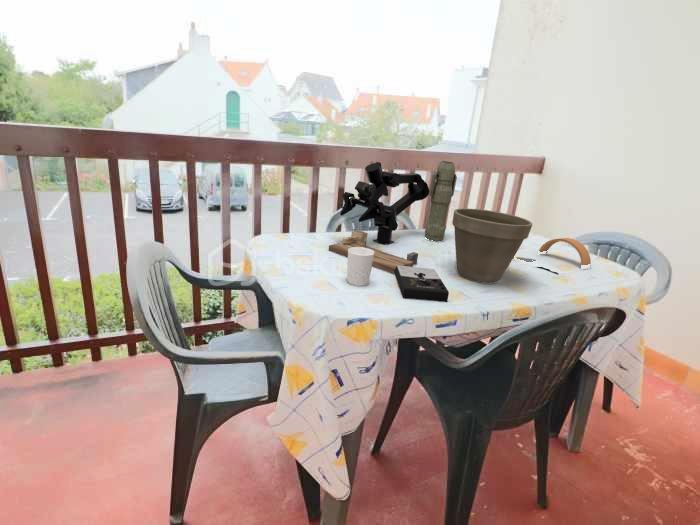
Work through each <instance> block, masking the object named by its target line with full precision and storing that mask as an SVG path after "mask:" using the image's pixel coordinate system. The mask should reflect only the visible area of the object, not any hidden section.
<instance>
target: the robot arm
mask: <svg viewBox="0 0 700 525" xmlns="http://www.w3.org/2000/svg"><path fill="white" fill-rule="evenodd" d="M364 169H365V173H366V176H367V179H368V182H364V181H360V180H358V182H357V184H356V185H355V186H354V190H356V191H357V197H358V198H357V197H356V196H355V194H354V193H352V192H347V191H345V192H344V193H343V194H342V195H341V196H342V199H343V206H342V208H341V211H340V213H339V214H340V216H345V215H346V214H349V212H351V211H352V210H354V208H355V207H357V206H360V207H361V208H365V209H366V210H365V212H364V213H362V215H361V216H360V217H359V218H358V222H359V223H361V222H365V221H368V220H373V222H374V224H373V225H374V227H376V228H377V234H376V238H375V239H376V240H375V239H374V240H375V241H374V242H376V241H378V242H377V243H379V242H380V243H379V244H382V243H383V244H384V245H388V244H389V245H390V244H393V243H395V241H394V240H392V237H393V236H392V235H393V231H394V232H395V231H397V229H398V226H399V224H398V222H397V216H399V215H400V214H401V213H402V212H404V211H405V210H406V209H407V208H409V207H410V206H411V205H412V204H414V203H415V202H417V201H422V200H424V199H427V197H428V196H430V187H429V186H428V183H427V182H426V181H425V180H424V179H423V178H422V175H421V174H419V173H416V172H415V173H414V172H409V173H397V172H391V171H386V170H383V168H382V163H381V162H379V161H376V162H373V163H370V164H368V165H366V167H364ZM401 184H404V185H405V184H408V185H407V188H408V191H407V193H406V194H405V195H403V196H402V197H401V198H399V199H397V201H395V202H393V203H392V204H391V205H390V206H388V205H384V202H382V201H379V200H380V198H382V197H383V196H384V197H388V196H389V189H388V188H397V187H399V186H400V185H401ZM383 244H382V245H383Z"/></svg>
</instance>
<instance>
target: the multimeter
mask: <svg viewBox="0 0 700 525" xmlns="http://www.w3.org/2000/svg"><path fill="white" fill-rule="evenodd" d="M394 277H395V279H396V284H397V286H398V288H399V291H400V295H401V297H402V299H407V300H419V301H429V302H431V301H432V302H443V303H447V302H448V298H449V295H450V293H449V290H448V288H447V286H446V285H445V284H444V282H443V281H442V279H441V277H440V275H439V274H438V273H437V271H436V269H434V268H429V267H417V266H413V267H408V266H396V269H395V274H394Z"/></svg>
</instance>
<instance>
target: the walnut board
mask: <svg viewBox="0 0 700 525" xmlns="http://www.w3.org/2000/svg"><path fill="white" fill-rule="evenodd" d="M352 247H363V248H368V249H371V250H373V251H374V258H373V263H372V268H375V269H377V270H381V271H384V272H386V273H389V274H392V275H395V269H396V266H408V267H414V265H417V264H418V258H419V252H414V251H413V252H409V253H407V255H406V258H403V257H399V256H398V255H393V254H390V253H388V252H384V251H382V250H378V249H376V248H372V247H371V246H370V247H369V246H367V245H366V246H364V245H361V244H358V243H355V242H350V243H346V244H344V243H343V241H341V242H338V243H334V244H330V245H328V250H327V251H329V252H331V253H334V254H337V255H340V256H342V257H346V258H348V249H349V248H352Z"/></svg>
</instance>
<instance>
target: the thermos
mask: <svg viewBox="0 0 700 525" xmlns="http://www.w3.org/2000/svg"><path fill="white" fill-rule="evenodd" d="M457 179H458V177H457V174H456V166H455V163H454V162H452V161H447V160H442V161H439V163H438V165H437V168H436V171H435V172H433V174H432V177H431V182H430V187H429V190H430V192H429V196H430V206H429V212H428V218H427V221H426V223H425V227H424V228H425V230H424V236H425V237H426V238H427V239H429V240H433V241H442V240H443V241H444V236H445V234H446V229H447V226H446V222H447V216H448V211H449V206H450V204H451V201H452V197H453V196H454V194H455V190H456V183H457ZM433 241H432V242H433ZM443 241H442V242H443Z"/></svg>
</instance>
